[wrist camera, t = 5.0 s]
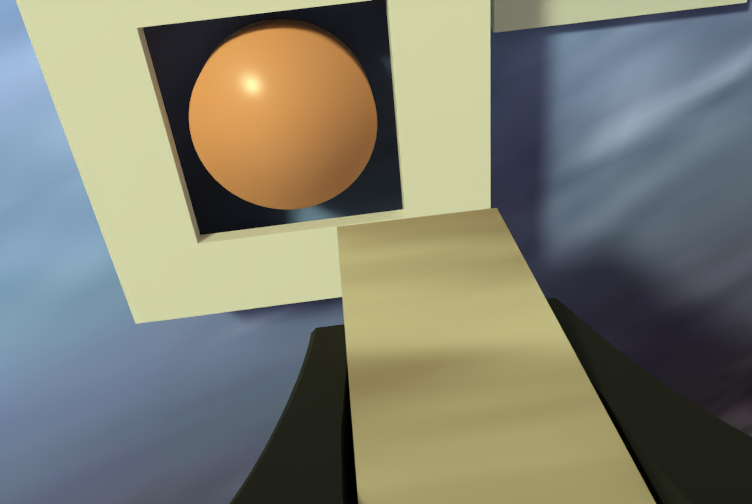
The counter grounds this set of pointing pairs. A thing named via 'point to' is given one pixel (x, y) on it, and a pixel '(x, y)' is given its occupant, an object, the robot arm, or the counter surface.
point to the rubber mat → (582, 11)
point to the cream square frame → (163, 169)
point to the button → (283, 114)
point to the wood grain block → (467, 374)
